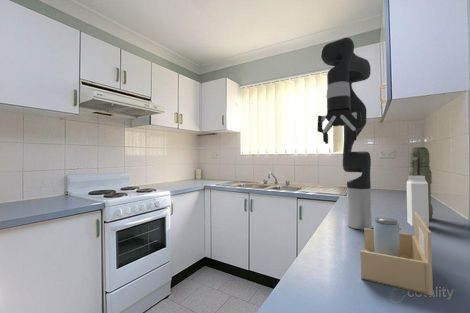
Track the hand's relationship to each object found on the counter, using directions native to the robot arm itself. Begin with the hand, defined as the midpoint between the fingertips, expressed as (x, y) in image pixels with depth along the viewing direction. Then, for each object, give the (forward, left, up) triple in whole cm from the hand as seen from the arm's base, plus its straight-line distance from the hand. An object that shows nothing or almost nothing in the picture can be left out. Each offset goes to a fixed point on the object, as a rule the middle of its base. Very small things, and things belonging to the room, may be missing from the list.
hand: (339, 143), depth 79 cm
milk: (-41, +26, -36) cm, 61 cm away
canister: (+11, +13, -36) cm, 39 cm away
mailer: (+11, +13, -36) cm, 40 cm away
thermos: (-56, +29, -36) cm, 73 cm away
